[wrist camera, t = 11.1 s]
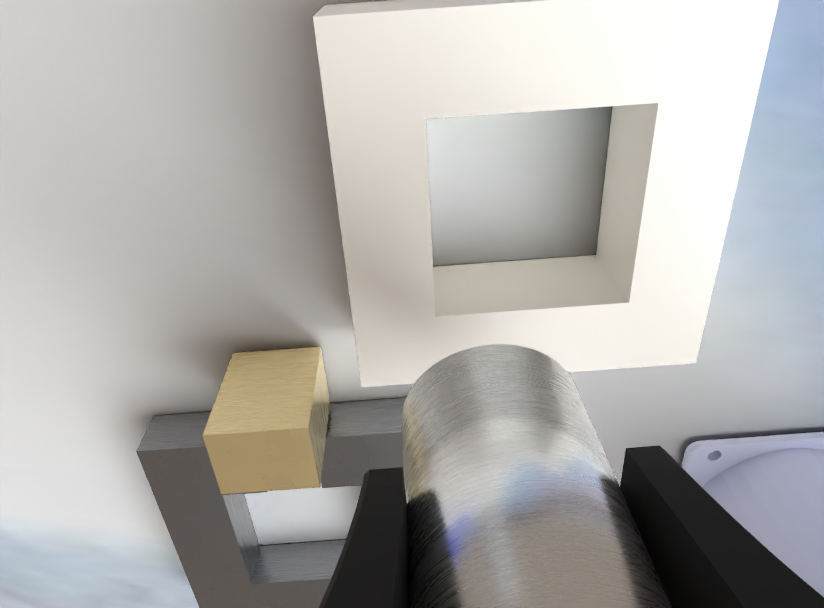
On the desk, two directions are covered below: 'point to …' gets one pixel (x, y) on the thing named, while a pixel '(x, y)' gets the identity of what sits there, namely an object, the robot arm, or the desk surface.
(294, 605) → the socket block
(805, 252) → the desk surface
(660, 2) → the white square block
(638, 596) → the metal cylinder
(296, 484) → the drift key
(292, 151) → the desk surface
